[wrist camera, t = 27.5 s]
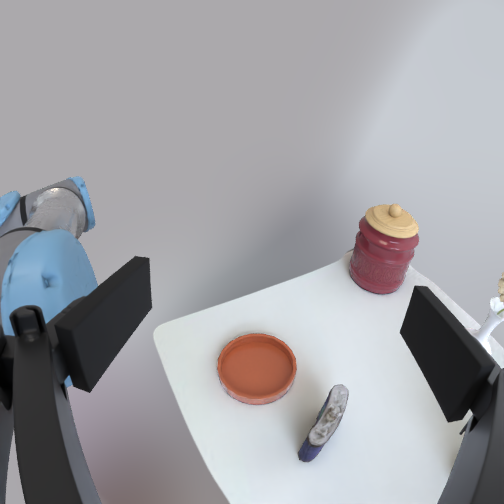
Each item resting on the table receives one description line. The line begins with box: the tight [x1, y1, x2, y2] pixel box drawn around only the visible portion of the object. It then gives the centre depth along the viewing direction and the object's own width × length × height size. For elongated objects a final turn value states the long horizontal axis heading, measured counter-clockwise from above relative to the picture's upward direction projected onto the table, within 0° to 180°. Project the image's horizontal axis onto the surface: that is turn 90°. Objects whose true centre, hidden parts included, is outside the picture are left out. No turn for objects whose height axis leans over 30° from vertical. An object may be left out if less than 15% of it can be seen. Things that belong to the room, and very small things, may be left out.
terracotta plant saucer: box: [217, 334, 297, 405], centre depth 44 cm, size 12×12×2 cm
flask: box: [298, 385, 349, 462], centre depth 32 cm, size 9×3×11 cm, turn 150°
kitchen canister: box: [350, 204, 419, 294], centre depth 57 cm, size 13×13×18 cm
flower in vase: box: [466, 272, 504, 355], centre depth 35 cm, size 13×11×25 cm
